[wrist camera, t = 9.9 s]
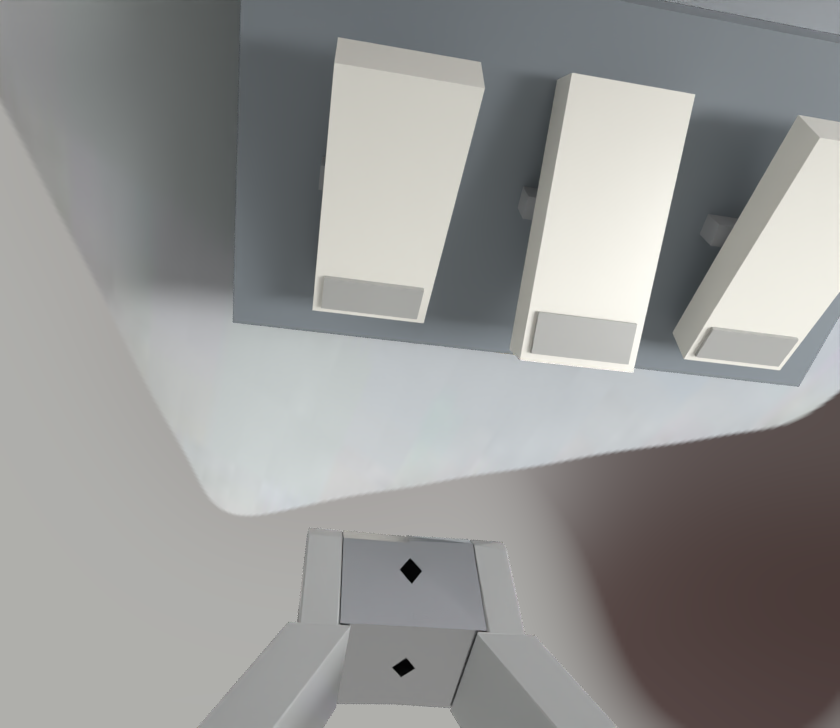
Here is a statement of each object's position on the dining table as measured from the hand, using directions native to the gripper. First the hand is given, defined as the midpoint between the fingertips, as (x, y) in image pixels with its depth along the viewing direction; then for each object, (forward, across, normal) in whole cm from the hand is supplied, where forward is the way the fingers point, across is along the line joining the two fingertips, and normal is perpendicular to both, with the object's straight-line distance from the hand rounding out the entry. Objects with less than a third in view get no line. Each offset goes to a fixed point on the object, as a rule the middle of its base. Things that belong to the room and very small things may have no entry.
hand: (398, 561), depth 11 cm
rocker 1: (+14, 0, -1) cm, 14 cm away
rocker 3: (+14, -14, 0) cm, 20 cm away
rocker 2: (+14, -7, 0) cm, 16 cm away
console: (+21, -7, -1) cm, 22 cm away
